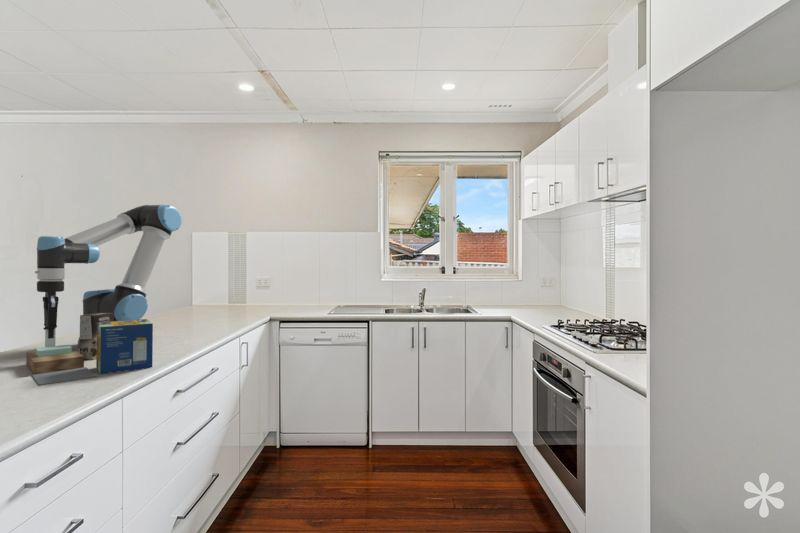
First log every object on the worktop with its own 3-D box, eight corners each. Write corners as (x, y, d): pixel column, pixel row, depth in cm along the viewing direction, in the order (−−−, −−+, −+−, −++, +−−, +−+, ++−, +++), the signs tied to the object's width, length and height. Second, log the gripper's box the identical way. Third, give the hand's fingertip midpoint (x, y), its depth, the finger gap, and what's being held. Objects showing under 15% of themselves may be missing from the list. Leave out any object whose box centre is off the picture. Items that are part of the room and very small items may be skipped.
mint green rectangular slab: (68, 350, 156) (68, 344, 155) (71, 353, 151) (71, 347, 151) (35, 353, 149) (35, 348, 149) (38, 357, 145) (38, 351, 145)
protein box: (95, 367, 148) (95, 322, 148) (147, 361, 158) (147, 318, 158) (99, 374, 140) (99, 326, 140) (153, 367, 150) (153, 322, 150)
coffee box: (93, 360, 158) (93, 315, 158) (78, 358, 160) (78, 314, 159) (114, 354, 167) (114, 312, 167) (100, 353, 169) (100, 311, 168)
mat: (85, 368, 147) (85, 367, 147) (96, 376, 138) (96, 375, 138) (32, 375, 137) (32, 374, 137) (38, 385, 128) (38, 384, 128)
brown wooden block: (72, 358, 160) (72, 347, 160) (83, 368, 147) (83, 356, 147) (26, 364, 150) (26, 352, 150) (33, 375, 138) (33, 362, 138)
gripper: (34, 279, 155) (33, 345, 156) (39, 281, 146) (38, 351, 146) (60, 279, 160) (60, 343, 161) (67, 281, 151) (66, 348, 152)
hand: (50, 347), depth 154 cm, fingers closed
